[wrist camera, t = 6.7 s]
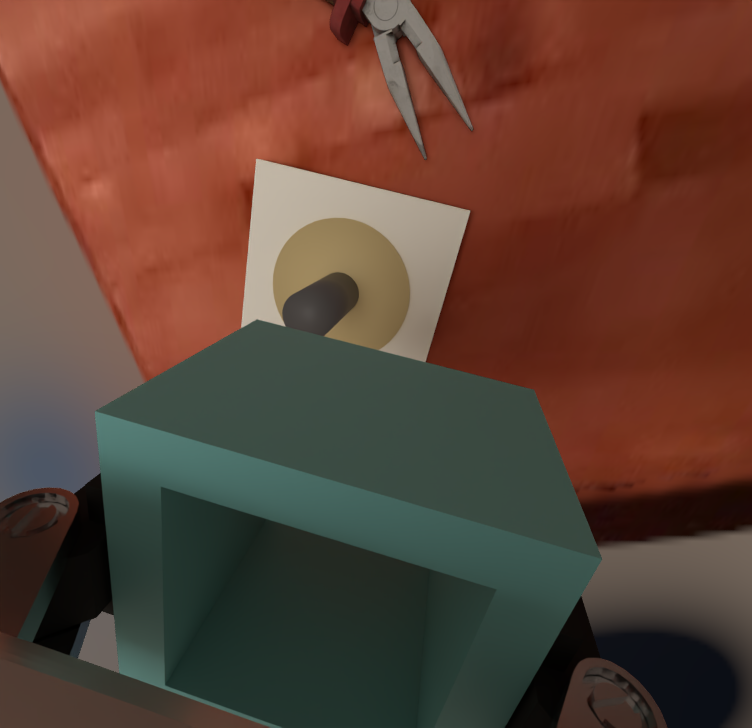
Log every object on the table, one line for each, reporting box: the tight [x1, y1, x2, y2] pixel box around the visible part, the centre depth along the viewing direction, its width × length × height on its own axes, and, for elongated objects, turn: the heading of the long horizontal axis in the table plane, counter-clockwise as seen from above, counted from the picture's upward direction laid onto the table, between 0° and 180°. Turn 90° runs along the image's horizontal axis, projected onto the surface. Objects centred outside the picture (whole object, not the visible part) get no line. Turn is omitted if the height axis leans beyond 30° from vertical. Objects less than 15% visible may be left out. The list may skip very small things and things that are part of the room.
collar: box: [95, 319, 602, 728], centre depth 9 cm, size 7×7×5 cm
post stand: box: [241, 159, 470, 362], centre depth 24 cm, size 13×13×8 cm
